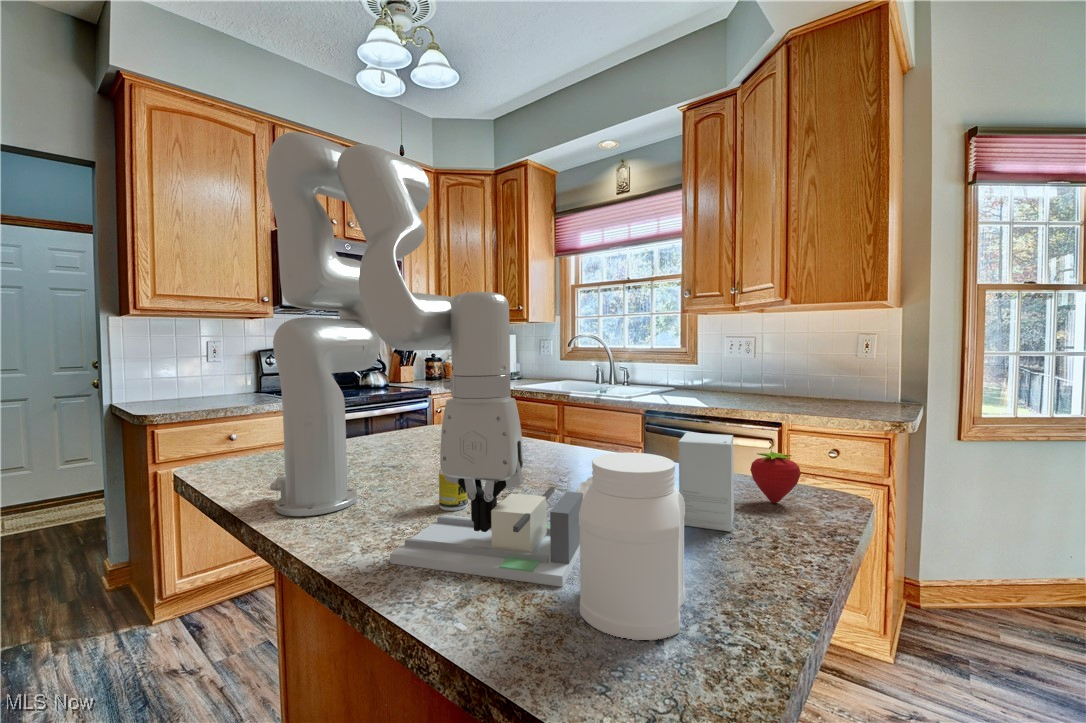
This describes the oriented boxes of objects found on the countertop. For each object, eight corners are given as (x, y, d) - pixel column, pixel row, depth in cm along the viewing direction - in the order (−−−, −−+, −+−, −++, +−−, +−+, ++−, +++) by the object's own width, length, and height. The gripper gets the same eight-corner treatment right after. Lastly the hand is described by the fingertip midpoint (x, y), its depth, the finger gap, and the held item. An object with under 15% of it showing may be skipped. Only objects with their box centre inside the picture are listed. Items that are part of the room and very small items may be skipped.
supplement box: (735, 515, 75) (735, 434, 75) (731, 533, 68) (731, 444, 68) (685, 509, 78) (685, 431, 78) (677, 525, 72) (677, 440, 71)
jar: (676, 650, 43) (676, 481, 42) (571, 629, 46) (570, 472, 46) (686, 588, 54) (686, 452, 53) (601, 574, 57) (600, 446, 56)
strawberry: (803, 511, 77) (803, 448, 76) (751, 506, 79) (751, 445, 79) (797, 499, 82) (798, 440, 82) (749, 495, 85) (749, 438, 84)
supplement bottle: (462, 512, 78) (461, 460, 78) (434, 510, 79) (433, 459, 79) (472, 502, 83) (471, 453, 83) (446, 501, 84) (445, 452, 84)
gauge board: (390, 563, 60) (388, 505, 60) (444, 522, 74) (443, 475, 74) (562, 586, 54) (561, 522, 54) (587, 537, 67) (587, 486, 67)
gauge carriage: (477, 565, 56) (476, 522, 56) (521, 518, 71) (521, 484, 71) (518, 571, 55) (518, 527, 55) (554, 521, 70) (554, 487, 69)
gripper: (415, 390, 62) (419, 533, 63) (526, 392, 58) (529, 545, 58) (443, 385, 69) (446, 513, 70) (545, 386, 65) (547, 523, 66)
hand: (484, 527), depth 64 cm, fingers closed
